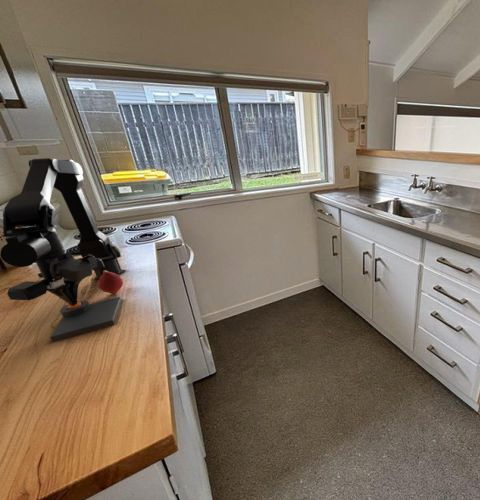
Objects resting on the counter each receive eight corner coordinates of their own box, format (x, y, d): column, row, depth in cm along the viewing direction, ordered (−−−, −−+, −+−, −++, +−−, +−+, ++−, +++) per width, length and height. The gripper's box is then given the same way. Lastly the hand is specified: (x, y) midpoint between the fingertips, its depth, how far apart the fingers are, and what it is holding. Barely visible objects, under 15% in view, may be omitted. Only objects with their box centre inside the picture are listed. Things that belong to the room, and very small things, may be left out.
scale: (68, 313, 79) (63, 304, 78) (122, 300, 84) (119, 291, 83) (50, 342, 67) (44, 332, 66) (114, 324, 73) (110, 314, 72)
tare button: (71, 309, 78) (68, 304, 77) (84, 306, 79) (81, 301, 78) (68, 314, 75) (65, 308, 75) (81, 311, 77) (79, 305, 76)
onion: (123, 287, 92) (114, 264, 89) (128, 292, 89) (119, 269, 86) (101, 294, 88) (91, 271, 85) (105, 300, 85) (95, 276, 82)
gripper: (31, 268, 61) (62, 327, 67) (110, 239, 78) (129, 288, 84) (-10, 267, 63) (23, 325, 68) (76, 239, 80) (97, 287, 86)
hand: (74, 304), depth 77 cm, fingers closed, pressing on tare button
